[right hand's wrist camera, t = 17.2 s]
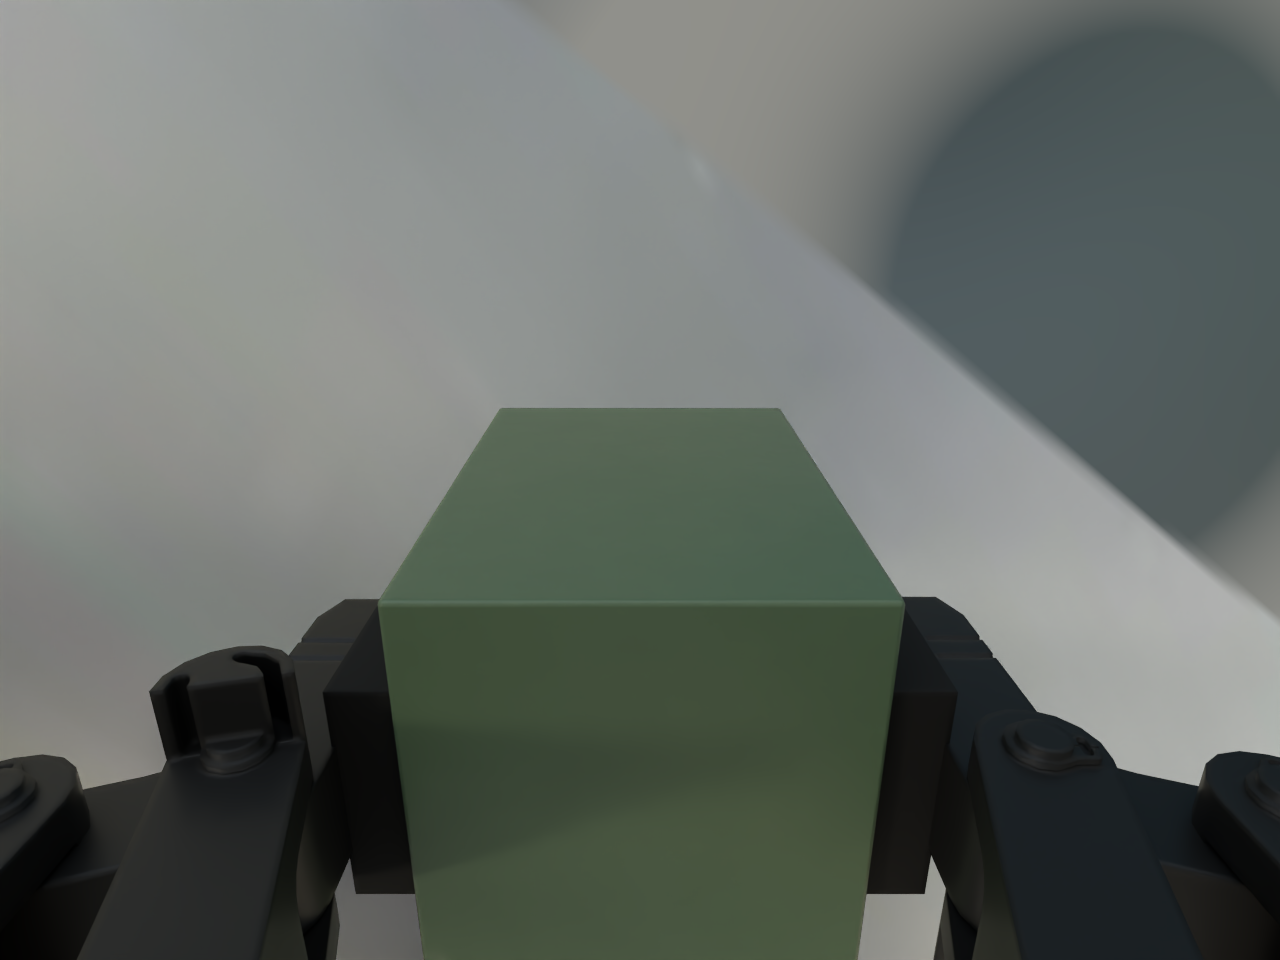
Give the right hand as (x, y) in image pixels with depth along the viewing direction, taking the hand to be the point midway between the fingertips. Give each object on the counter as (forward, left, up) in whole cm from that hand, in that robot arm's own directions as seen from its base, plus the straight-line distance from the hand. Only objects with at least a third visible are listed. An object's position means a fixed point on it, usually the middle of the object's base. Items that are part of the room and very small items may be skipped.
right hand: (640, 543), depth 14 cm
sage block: (0, 0, 0) cm, 0 cm away
